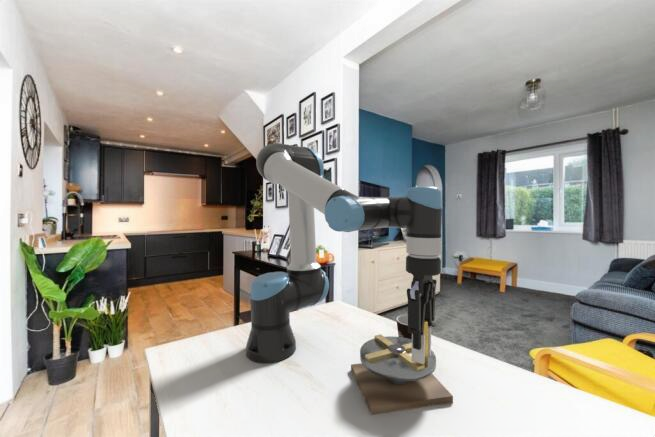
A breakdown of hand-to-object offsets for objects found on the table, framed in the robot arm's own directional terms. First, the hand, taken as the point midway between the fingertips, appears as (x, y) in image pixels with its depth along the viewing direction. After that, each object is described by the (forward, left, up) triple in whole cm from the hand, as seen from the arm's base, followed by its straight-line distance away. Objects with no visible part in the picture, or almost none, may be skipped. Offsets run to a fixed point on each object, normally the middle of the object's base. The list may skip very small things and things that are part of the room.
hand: (421, 357), depth 65 cm
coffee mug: (-21, +8, -10) cm, 24 cm away
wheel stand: (-6, -3, -9) cm, 12 cm away
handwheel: (-6, -3, -3) cm, 7 cm away
